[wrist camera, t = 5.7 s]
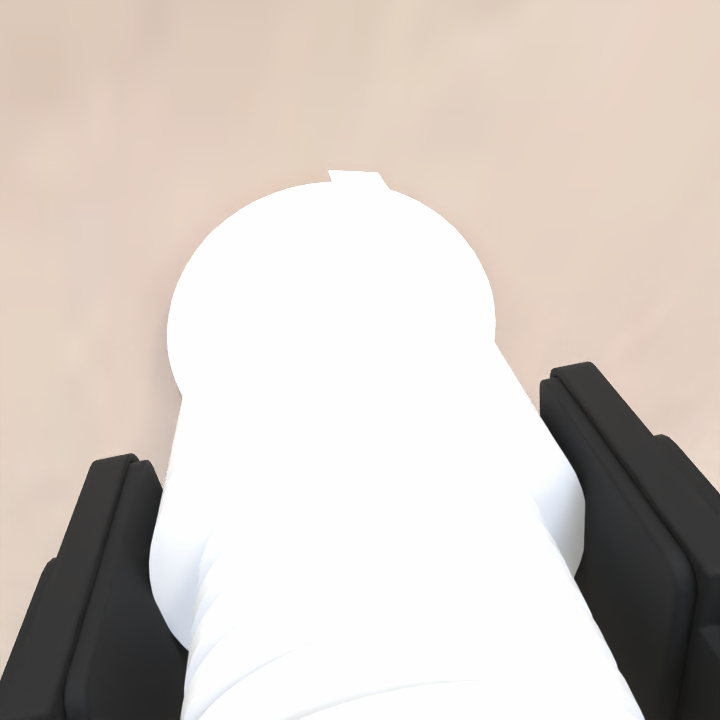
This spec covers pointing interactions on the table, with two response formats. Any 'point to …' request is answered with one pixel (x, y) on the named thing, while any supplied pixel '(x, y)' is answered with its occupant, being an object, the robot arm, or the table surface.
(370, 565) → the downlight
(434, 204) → the table surface
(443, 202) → the table surface
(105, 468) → the robot arm
